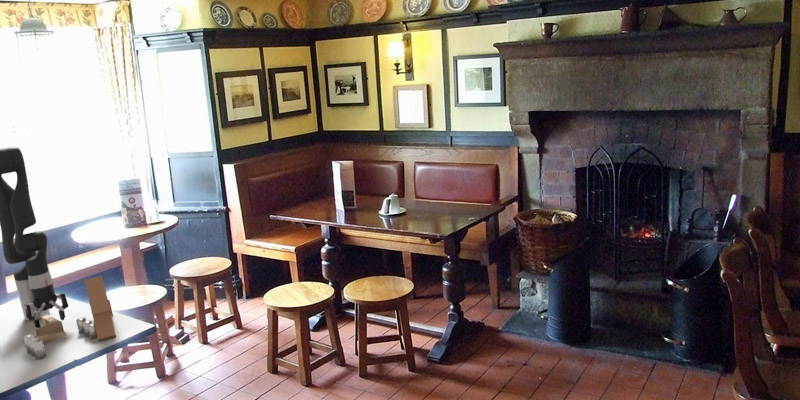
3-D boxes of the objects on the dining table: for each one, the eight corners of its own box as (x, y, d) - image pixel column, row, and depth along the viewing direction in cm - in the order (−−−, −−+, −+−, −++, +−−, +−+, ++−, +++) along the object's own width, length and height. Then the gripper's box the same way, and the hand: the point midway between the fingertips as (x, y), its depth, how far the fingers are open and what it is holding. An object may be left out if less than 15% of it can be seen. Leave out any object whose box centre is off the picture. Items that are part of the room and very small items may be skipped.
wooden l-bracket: (26, 337, 247) (22, 322, 246) (51, 328, 253) (47, 314, 252) (39, 345, 238) (36, 330, 236) (65, 336, 244) (61, 321, 243)
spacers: (25, 351, 234) (21, 335, 233) (86, 328, 249) (82, 314, 248) (38, 360, 225) (34, 344, 223) (101, 336, 240) (97, 321, 238)
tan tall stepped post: (102, 358, 251) (94, 335, 231) (90, 305, 260) (82, 278, 240) (121, 352, 254) (116, 329, 234) (109, 300, 263) (103, 274, 243)
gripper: (57, 276, 252) (66, 315, 255) (17, 288, 242) (27, 328, 245) (64, 279, 246) (73, 319, 250) (24, 292, 236) (34, 333, 240)
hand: (50, 323), depth 248 cm, fingers open, 8 cm apart
